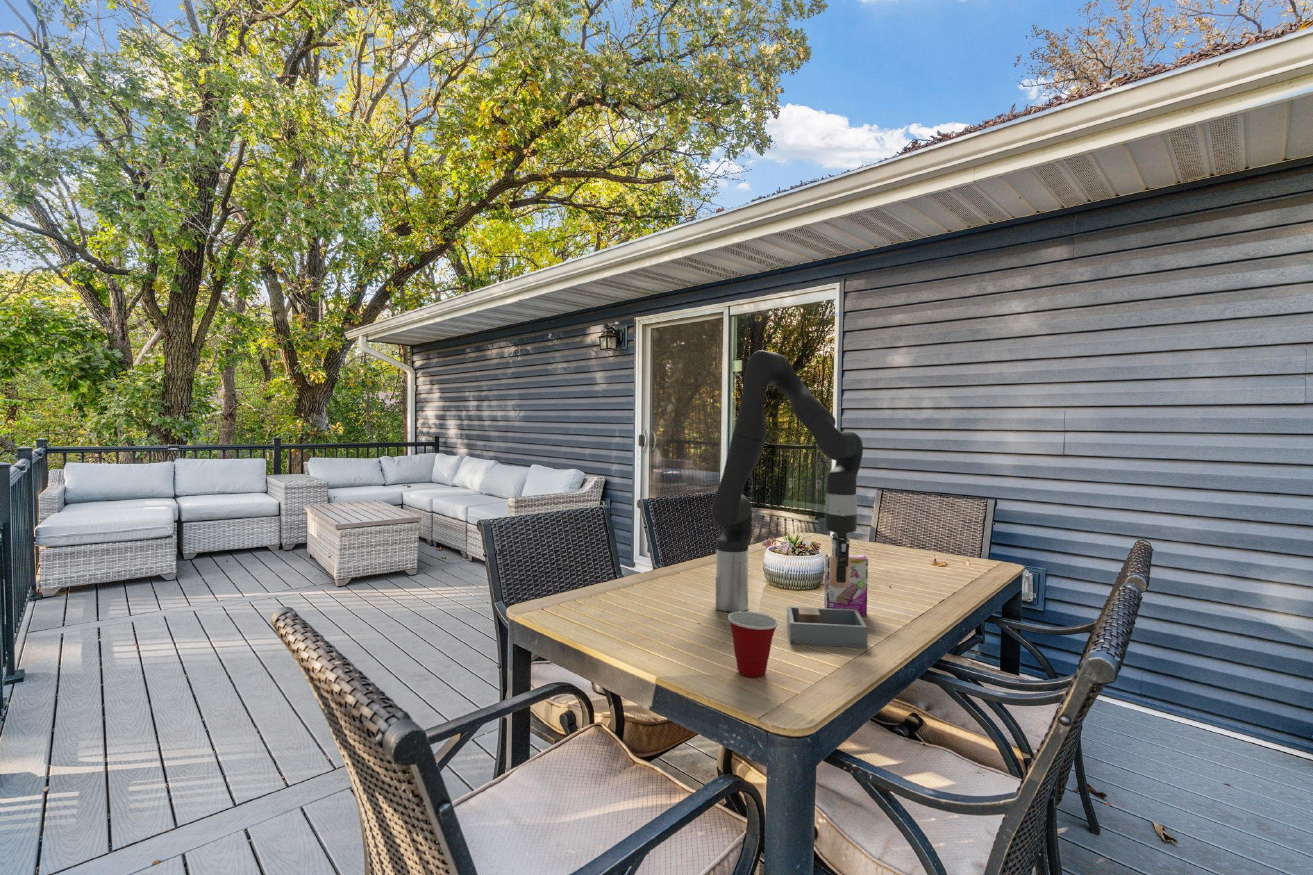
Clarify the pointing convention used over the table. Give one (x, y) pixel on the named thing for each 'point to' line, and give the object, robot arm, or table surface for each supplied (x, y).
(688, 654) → the table surface
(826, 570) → the candy bar box
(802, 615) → the walnut cube
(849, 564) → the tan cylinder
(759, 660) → the plastic cup
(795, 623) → the gray tote
